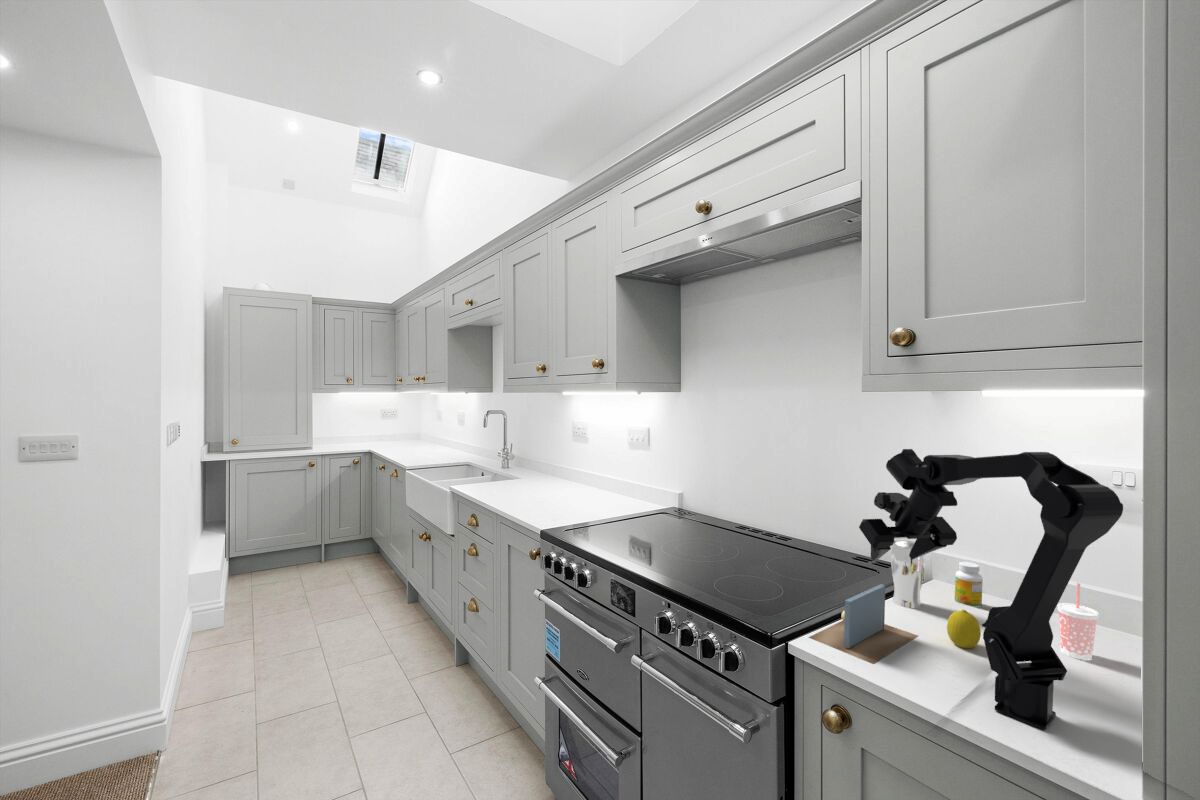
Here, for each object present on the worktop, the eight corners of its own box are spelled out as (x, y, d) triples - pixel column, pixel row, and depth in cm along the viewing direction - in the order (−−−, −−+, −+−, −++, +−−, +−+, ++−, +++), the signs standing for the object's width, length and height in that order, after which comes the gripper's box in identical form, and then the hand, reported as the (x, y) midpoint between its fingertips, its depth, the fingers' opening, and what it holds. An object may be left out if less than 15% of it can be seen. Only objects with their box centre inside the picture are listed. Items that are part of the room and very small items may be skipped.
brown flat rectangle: (918, 640, 111) (918, 635, 111) (873, 669, 99) (873, 663, 99) (855, 618, 121) (855, 613, 121) (808, 642, 110) (808, 637, 109)
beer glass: (885, 600, 132) (886, 539, 131) (915, 602, 131) (917, 540, 130) (896, 612, 125) (898, 547, 124) (929, 614, 124) (931, 549, 123)
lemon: (985, 658, 104) (986, 617, 104) (953, 655, 105) (954, 614, 105) (971, 644, 109) (973, 605, 109) (941, 641, 110) (942, 603, 110)
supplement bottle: (949, 600, 132) (950, 560, 132) (969, 599, 133) (970, 560, 133) (966, 609, 127) (967, 568, 127) (987, 608, 128) (988, 567, 127)
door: (885, 627, 114) (886, 585, 113) (848, 648, 105) (850, 602, 104) (874, 624, 115) (875, 582, 115) (837, 643, 106) (839, 598, 106)
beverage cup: (1057, 643, 110) (1059, 575, 110) (1098, 654, 106) (1100, 583, 105) (1053, 654, 106) (1056, 583, 105) (1096, 666, 101) (1099, 592, 101)
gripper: (938, 478, 116) (908, 528, 125) (859, 479, 113) (834, 531, 122) (974, 516, 107) (939, 568, 116) (889, 519, 104) (860, 572, 113)
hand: (891, 558), depth 117 cm, fingers open, 9 cm apart
